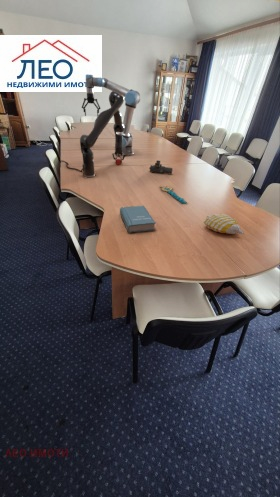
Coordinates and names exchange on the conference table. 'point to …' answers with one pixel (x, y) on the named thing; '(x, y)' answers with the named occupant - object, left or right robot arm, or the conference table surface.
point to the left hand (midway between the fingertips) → (118, 163)
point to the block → (118, 161)
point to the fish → (223, 224)
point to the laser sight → (160, 168)
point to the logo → (167, 189)
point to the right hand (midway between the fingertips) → (91, 116)
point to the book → (137, 219)
